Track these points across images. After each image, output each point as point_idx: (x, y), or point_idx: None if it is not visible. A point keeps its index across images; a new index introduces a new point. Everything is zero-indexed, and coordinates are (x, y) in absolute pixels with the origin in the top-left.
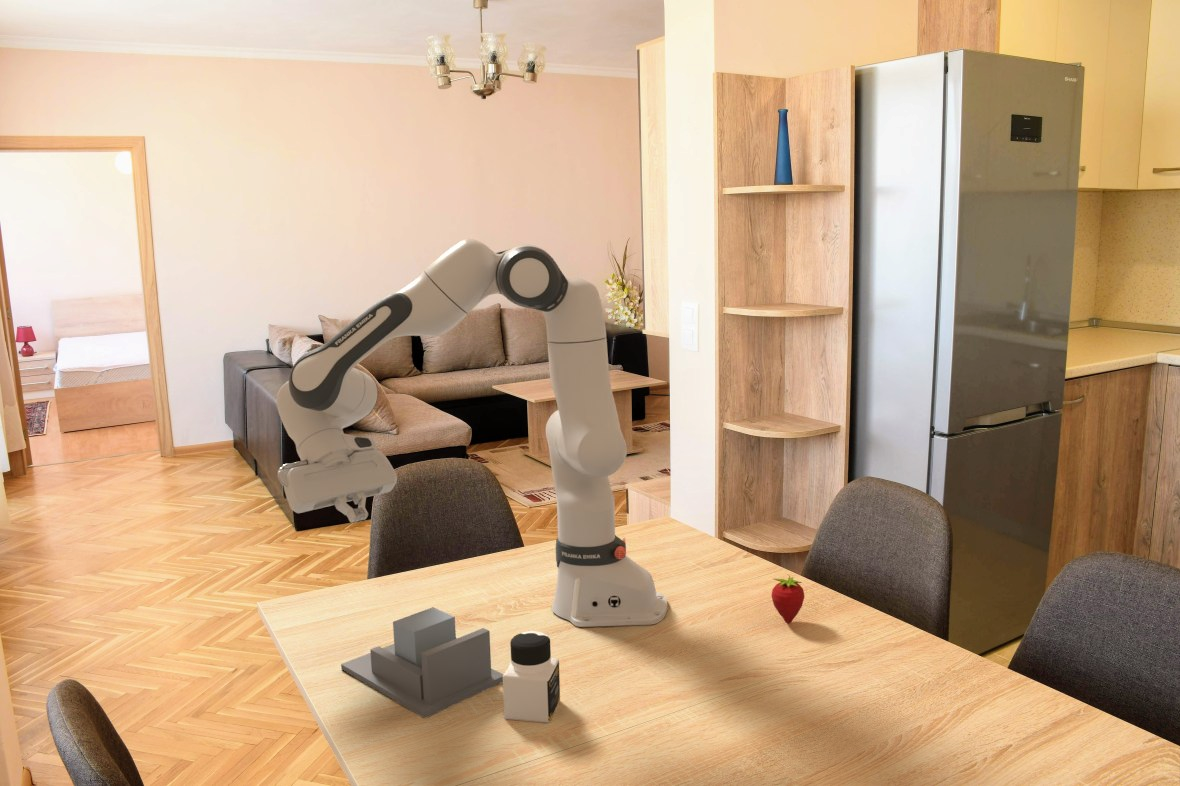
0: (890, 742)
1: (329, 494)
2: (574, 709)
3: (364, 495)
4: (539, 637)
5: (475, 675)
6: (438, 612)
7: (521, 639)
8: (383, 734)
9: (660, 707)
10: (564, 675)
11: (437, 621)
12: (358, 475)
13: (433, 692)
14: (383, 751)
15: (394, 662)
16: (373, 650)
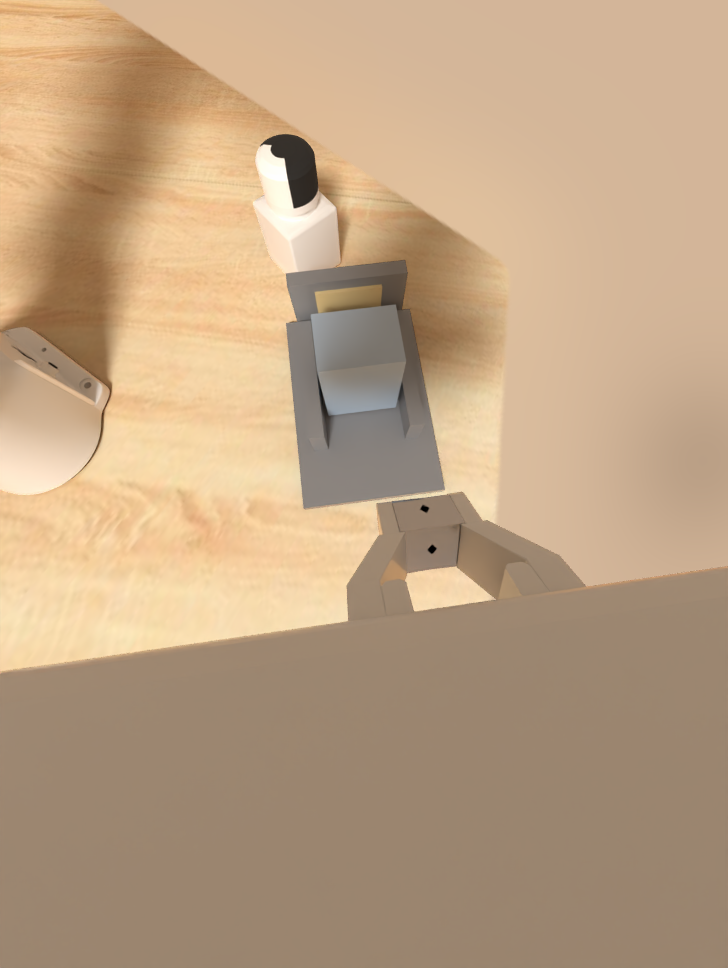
0: (113, 60)
1: (724, 581)
2: None
3: (354, 596)
4: (274, 140)
5: None
6: (322, 346)
7: (298, 149)
8: (459, 314)
9: (203, 193)
10: (226, 298)
11: (344, 315)
12: (338, 872)
13: None
14: (472, 287)
15: (413, 363)
16: (422, 417)
